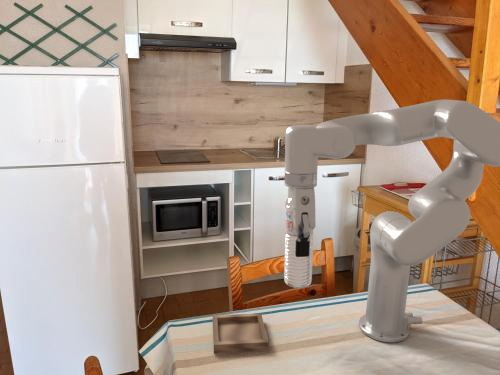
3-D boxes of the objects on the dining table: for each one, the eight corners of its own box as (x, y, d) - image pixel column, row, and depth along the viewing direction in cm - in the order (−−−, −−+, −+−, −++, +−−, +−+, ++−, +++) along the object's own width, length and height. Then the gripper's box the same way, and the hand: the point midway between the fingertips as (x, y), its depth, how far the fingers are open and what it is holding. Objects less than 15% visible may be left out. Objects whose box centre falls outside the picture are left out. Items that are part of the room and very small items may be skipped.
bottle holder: (261, 321, 116) (261, 313, 115) (268, 350, 103) (268, 342, 103) (212, 323, 114) (212, 315, 114) (213, 353, 102) (213, 344, 101)
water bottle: (310, 290, 103) (314, 189, 97) (282, 287, 104) (284, 187, 98) (312, 277, 109) (316, 182, 103) (285, 275, 111) (287, 180, 104)
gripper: (326, 187, 92) (323, 264, 97) (307, 170, 109) (305, 236, 113) (292, 188, 91) (290, 265, 96) (278, 171, 108) (277, 237, 113)
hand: (298, 249), depth 105 cm, fingers closed on water bottle, 6 cm apart
